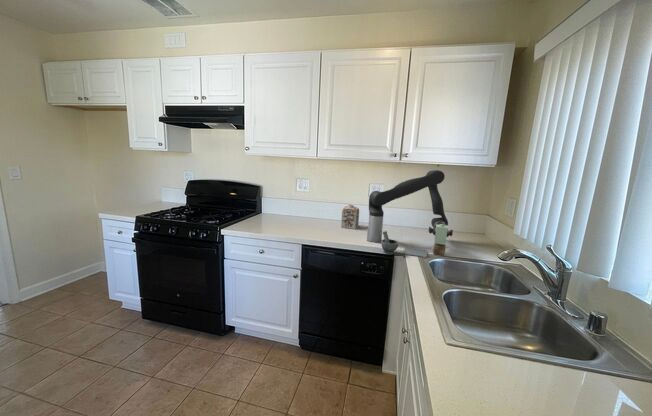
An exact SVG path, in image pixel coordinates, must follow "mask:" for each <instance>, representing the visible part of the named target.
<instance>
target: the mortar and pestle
mask: <svg viewBox="0 0 652 416" xmlns="http://www.w3.org/2000/svg"><path fill="white" fill-rule="evenodd" d="M382 236H383V239H382V240H381V242H380V244H381V248H382V250H383V253H384V254H385V255H394V254H395V251H396V250H397V249H398V247H399V242H398V241H397V240H395V239H392V238H391V239H390V238H389V235H388V231H387V230H384V231H382Z"/></svg>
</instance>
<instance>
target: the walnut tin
mask: <svg viewBox="0 0 652 416" xmlns="http://www.w3.org/2000/svg"><path fill="white" fill-rule="evenodd" d="M433 243H434V242H433ZM446 248H447V247H446V245H443V244H436V243H434V244H433V251H432V253H433V254H432V255H433V256H438V255H439V256H440V257H445V256H446V255H445V254H446Z"/></svg>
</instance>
